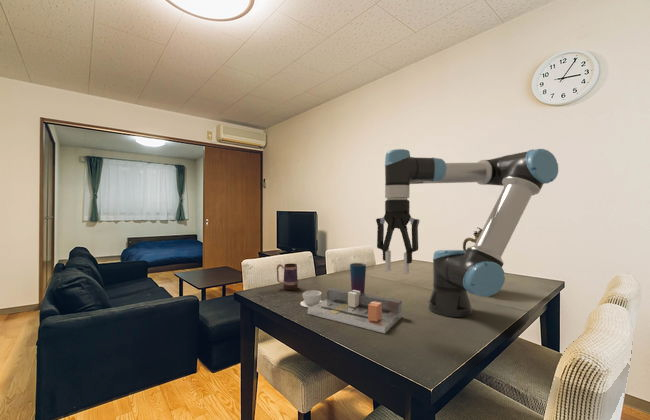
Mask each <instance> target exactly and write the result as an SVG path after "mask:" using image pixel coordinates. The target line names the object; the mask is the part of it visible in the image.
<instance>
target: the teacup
mask: <svg viewBox="0 0 650 420" xmlns="http://www.w3.org/2000/svg"><path fill="white" fill-rule="evenodd" d="M301 296H302V299H303V301H301V302H300V303H299V304H300V306H301V307H304V308H310V307H312V306H314V305H316V304H318V303H320V302H322V301H323V300H322V299H321V298H322V292H321V291H319V290H314V289H313V290H306V291H304V292H303V293H302V294H301Z"/></svg>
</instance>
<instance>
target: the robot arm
mask: <svg viewBox="0 0 650 420" xmlns="http://www.w3.org/2000/svg"><path fill="white" fill-rule="evenodd" d="M384 159H385V161H384V172H385V173H384V175H385V176H384V178H385V179H384V180H385V181H384V183H385V184H384V186H385V187H384V189H385V190H384V198H385V199H386V200H385V201H384V215H383V217H380V218H379V217H377V218H376V219H375V223H376V226H377V234H376V235H377V237H376V238H377V239H376V247H377V249H379V250H381V251H382V260H383V262H384V264H385V265H384V266H385V273H389V272H390V271H391V270H392V269H391V267H392V265H391V263H392V260H391V259H392V251H391V250H390V244H391V241H392V237H393V234H394V231H395V229H397V230H398V229H399V231H400V233H401V237H402V241H403V243H404V244H403V245H404V248H405V252H404V253H403V275H408V274H409V273H410V264H411V263H413V253H415V252H417V251H419V224H420V219H419V218H414V217H412V216H411V214H410V211H411V210H410V208H411V207H410V206H411V205H410V200H409V198H410V185H418V184H422V185H423V184H451V183H452V184H455V183H456V184H457V183H458V184H459V183H461V184H462V183H477V184H478V185H483V186H486V185H487V186H501V187H502V186H503V188H502V190H501V192H500V194H499V197H498V199H497V201H496V202H495V204H494V206H493V208H492V210H491V212H490V214H489V216H488V218H487V220H486V222H485V223H484V226H483V228H482V229H483V230H482V231H481V233H480V235H479V237H478V239H477V241H476V243H475V244H474V245H472V246H468V247H466V251H465V250H463V249H440V250H435V251H434V252H433V258H432V261H433V262H432V266H433V280H432V281H433V283H432V285H433V286H432V287H433V288H432V291H431V293H430V296H429V299H428V309H429V311H431V312H433V313H435V314H437V315H441V316H446V317H452V318H465V317H469V316H471V315H472V310H473V309H472V305H471V301H470V299H469V294H471V295H474V296H477V297H482V298H485V297H487V298H488V297H491V296H494V295H495V294H497V293H499V291H500V290H501V289H502V288H503V286H504V284H505V280H506V277H505V270H504V268H503V266H504V264H505V263H504V261H503V259H502V257H503V255H504V252H505V250H506V248H507V246H508V244H509V242H510V240H511V238H512V236H513V234H514V232H515V229H516V228H517V226H518V224H519V222H520V220H521V218H522V216H523V214H524V212H525V210H526V208H527V206H528V205H529V204H528V203H530V200H531V198H532V196H535V195H538V194H539V193H540V192H541V190H542V188H543V186H544V184H550V183H552V182H554V180H555V179H556V178H557V177H558V174H559V164H558V162H557V161H558V160H557V158H556V157H555V155H554V153H553V152H551V151H549V150H548V149H545V148H537V149H534V148H533V149H529V150H527V151H522V152H517V153H512V154H507V155H504V156H503V155H502V156H500V157H496V158H490V159H481V160H478V161H477V162H445V160H444V159H442V158H438V157H415V156H414V157H413V156H411V153H410V151H409V150H408V149H404V148H403V149H401V148H398V149H397V148H396V149H390V150H389V151H388V150H387V152H386V154H385V157H384ZM385 223H387V224H386V225H387V228H386V233H385V230H384V229H385ZM409 223H410V225H411V240H410V236H409V232H408V226H407V225H408V224H409ZM384 233H385V234H384ZM384 236H385V238H384ZM467 292H468V293H469V294H468V293H467Z"/></svg>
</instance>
